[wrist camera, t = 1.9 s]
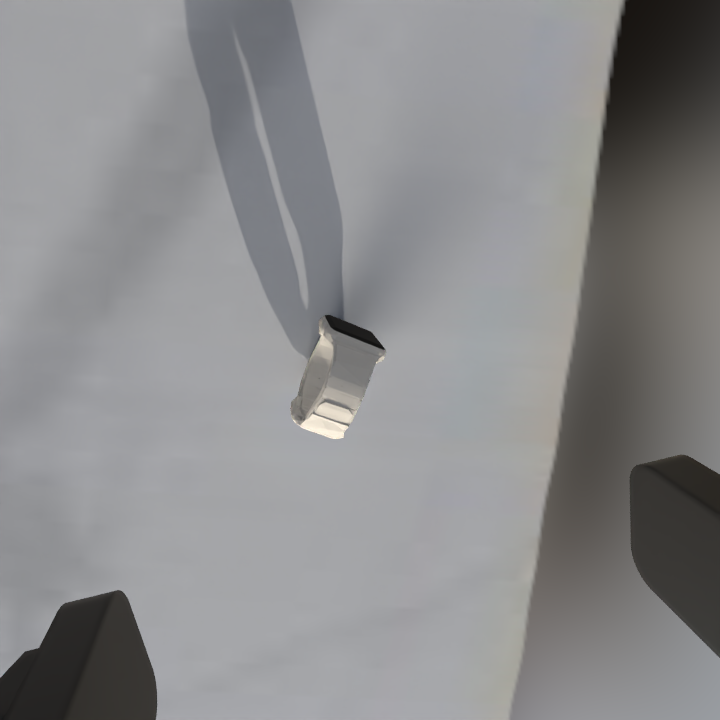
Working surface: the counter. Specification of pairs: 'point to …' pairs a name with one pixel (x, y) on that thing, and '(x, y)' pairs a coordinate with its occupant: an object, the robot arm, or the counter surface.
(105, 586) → the counter surface
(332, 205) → the counter surface
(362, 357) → the smartwatch
